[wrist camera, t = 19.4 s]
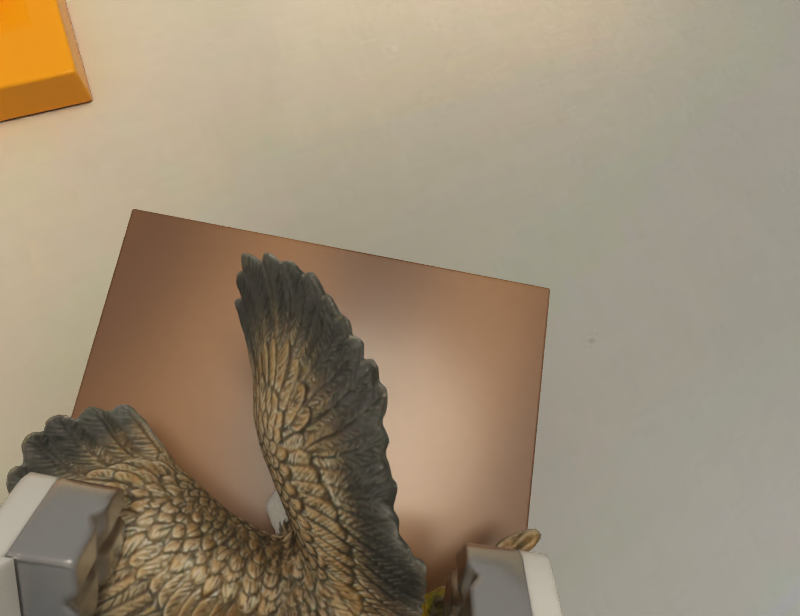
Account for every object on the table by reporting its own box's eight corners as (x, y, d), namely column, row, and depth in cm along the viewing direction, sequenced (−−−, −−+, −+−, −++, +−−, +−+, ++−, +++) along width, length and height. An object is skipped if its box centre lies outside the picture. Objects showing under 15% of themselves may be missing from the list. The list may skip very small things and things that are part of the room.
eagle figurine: (447, 472, 18) (236, 229, 15) (652, 608, 12) (375, 244, 8) (248, 699, 16) (-57, 484, 13) (369, 1004, 10) (-164, 756, 6)
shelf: (470, 353, 28) (550, 288, 19) (418, 771, 24) (486, 965, 14) (196, 303, 27) (132, 207, 18) (88, 729, 23) (-76, 908, 13)
